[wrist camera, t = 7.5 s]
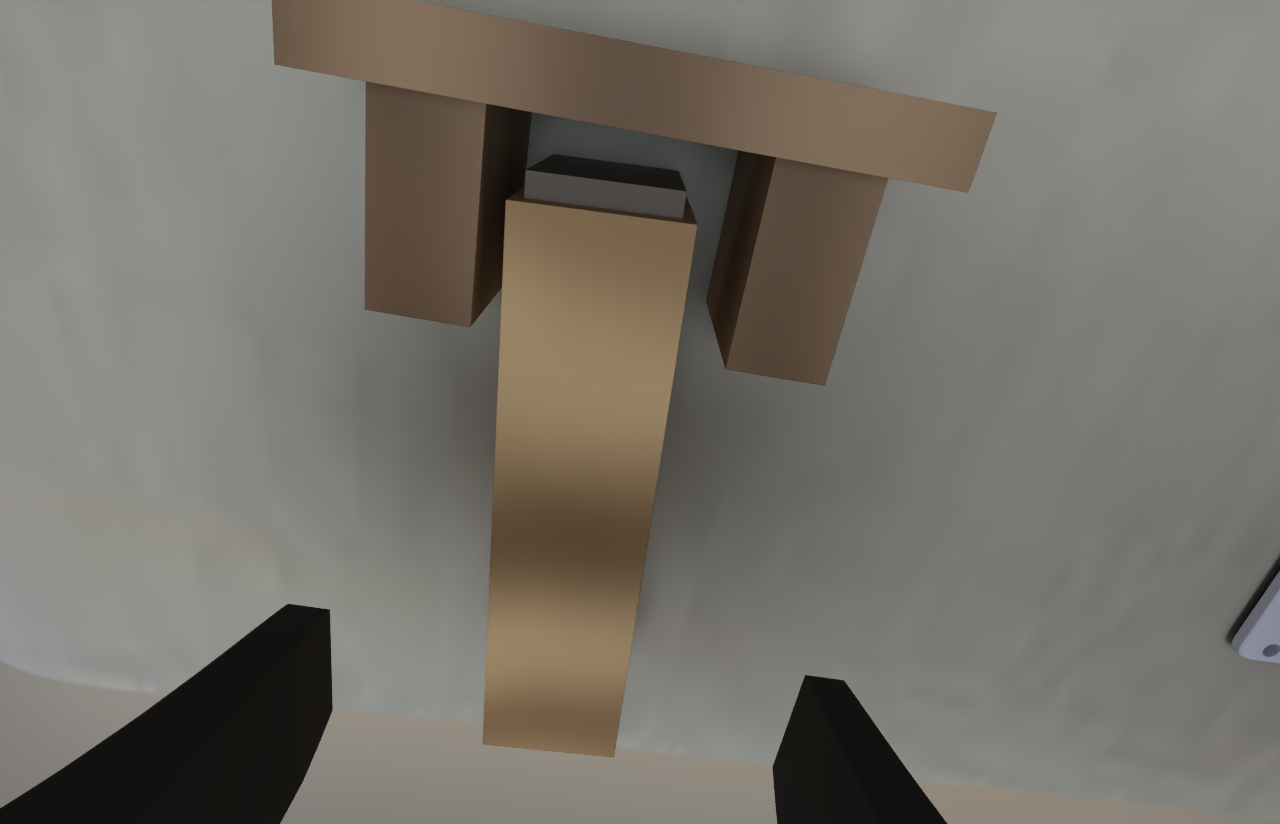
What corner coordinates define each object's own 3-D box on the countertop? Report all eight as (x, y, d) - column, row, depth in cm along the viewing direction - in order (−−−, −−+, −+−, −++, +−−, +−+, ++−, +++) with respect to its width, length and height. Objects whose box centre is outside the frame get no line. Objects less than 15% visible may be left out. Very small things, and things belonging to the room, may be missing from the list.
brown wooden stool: (878, 108, 16) (997, 112, 11) (817, 320, 18) (889, 415, 13) (405, 18, 15) (271, -27, 10) (399, 248, 18) (285, 315, 12)
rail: (545, 151, 17) (507, 170, 12) (687, 170, 17) (701, 196, 12) (515, 615, 23) (482, 744, 18) (621, 626, 23) (614, 757, 18)
